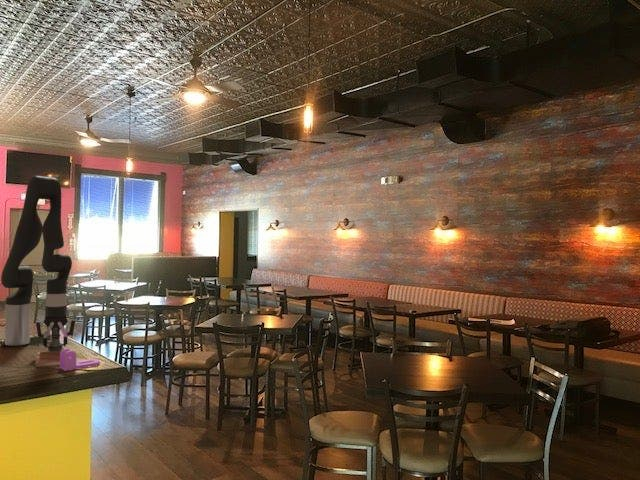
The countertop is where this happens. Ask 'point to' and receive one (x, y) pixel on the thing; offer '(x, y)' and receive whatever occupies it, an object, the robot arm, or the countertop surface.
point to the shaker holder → (48, 358)
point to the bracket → (74, 361)
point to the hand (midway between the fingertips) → (55, 346)
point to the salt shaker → (55, 341)
